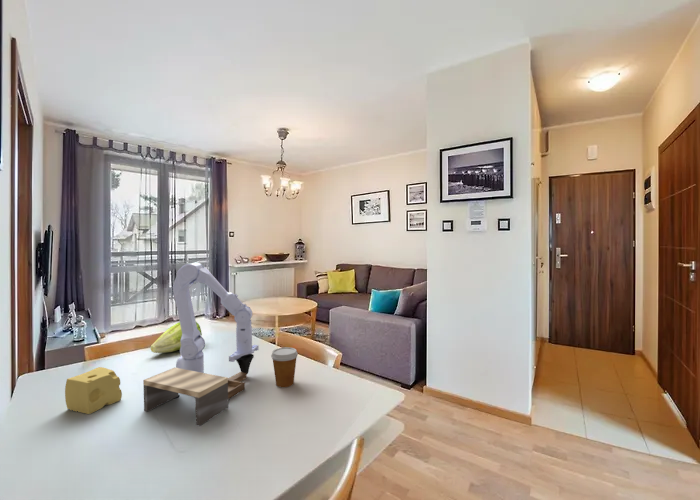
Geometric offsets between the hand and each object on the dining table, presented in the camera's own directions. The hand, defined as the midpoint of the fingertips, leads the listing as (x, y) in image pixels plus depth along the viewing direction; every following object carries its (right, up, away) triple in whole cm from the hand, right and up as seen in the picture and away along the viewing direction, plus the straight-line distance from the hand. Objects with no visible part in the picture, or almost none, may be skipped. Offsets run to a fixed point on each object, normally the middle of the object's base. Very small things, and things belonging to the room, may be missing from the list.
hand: (244, 374), depth 126 cm
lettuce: (-44, -1, +33) cm, 55 cm away
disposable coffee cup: (+17, -1, -7) cm, 18 cm away
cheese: (-41, -2, -21) cm, 47 cm away
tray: (-4, -1, -9) cm, 10 cm away
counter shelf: (-10, -2, -25) cm, 27 cm away
